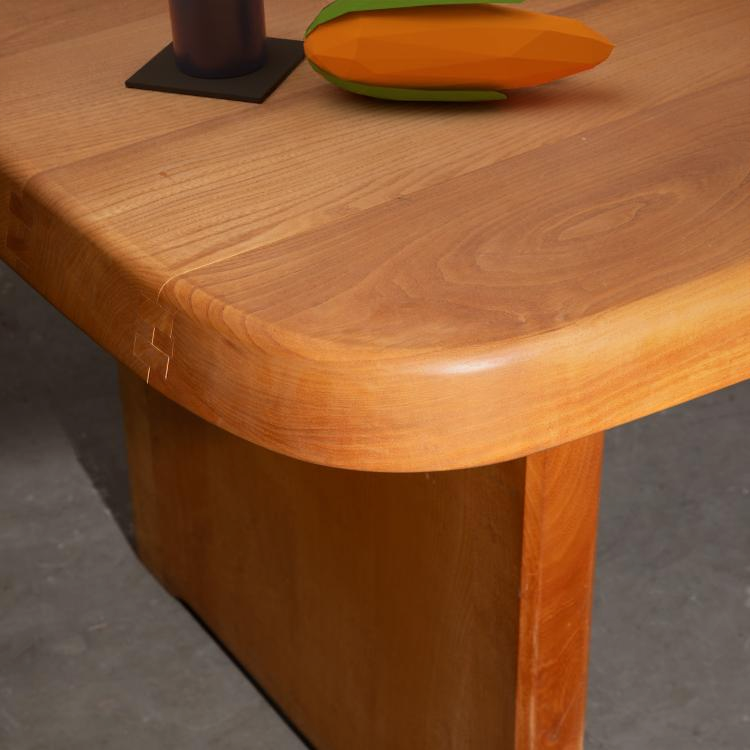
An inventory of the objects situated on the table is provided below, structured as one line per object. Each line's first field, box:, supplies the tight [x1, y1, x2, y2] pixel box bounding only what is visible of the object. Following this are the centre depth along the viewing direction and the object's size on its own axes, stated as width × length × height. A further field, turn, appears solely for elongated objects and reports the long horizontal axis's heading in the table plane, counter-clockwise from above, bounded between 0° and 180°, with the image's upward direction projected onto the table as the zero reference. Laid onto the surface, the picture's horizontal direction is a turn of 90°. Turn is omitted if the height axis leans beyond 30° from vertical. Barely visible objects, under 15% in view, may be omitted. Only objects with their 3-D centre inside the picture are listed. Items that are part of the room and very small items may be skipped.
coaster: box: [124, 36, 306, 104], centre depth 101 cm, size 10×10×1 cm
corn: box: [303, 0, 615, 103], centre depth 94 cm, size 7×8×20 cm
